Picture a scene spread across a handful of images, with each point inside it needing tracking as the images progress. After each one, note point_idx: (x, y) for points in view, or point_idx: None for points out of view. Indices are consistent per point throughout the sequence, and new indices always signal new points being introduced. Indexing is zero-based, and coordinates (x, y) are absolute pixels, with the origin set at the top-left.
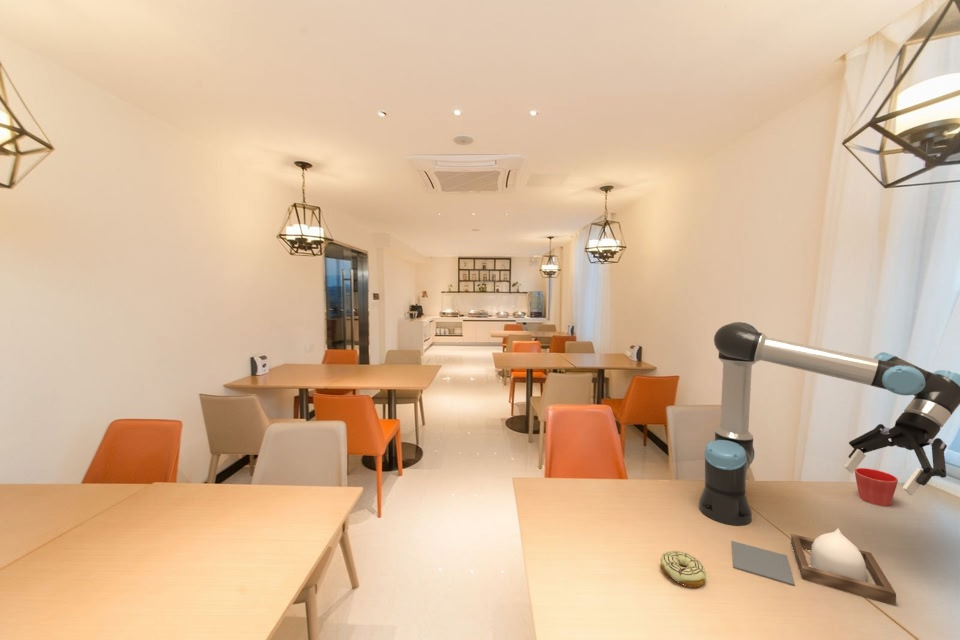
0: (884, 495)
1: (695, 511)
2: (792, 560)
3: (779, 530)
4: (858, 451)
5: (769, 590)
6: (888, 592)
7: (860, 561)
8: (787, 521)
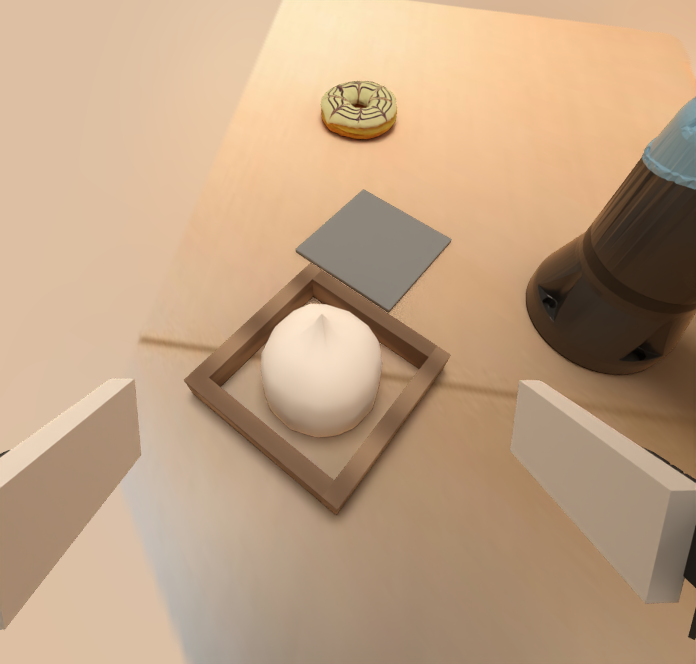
0: None
1: None
2: None
3: (510, 392)
4: (647, 470)
5: (295, 205)
6: (195, 370)
7: (263, 360)
8: None
